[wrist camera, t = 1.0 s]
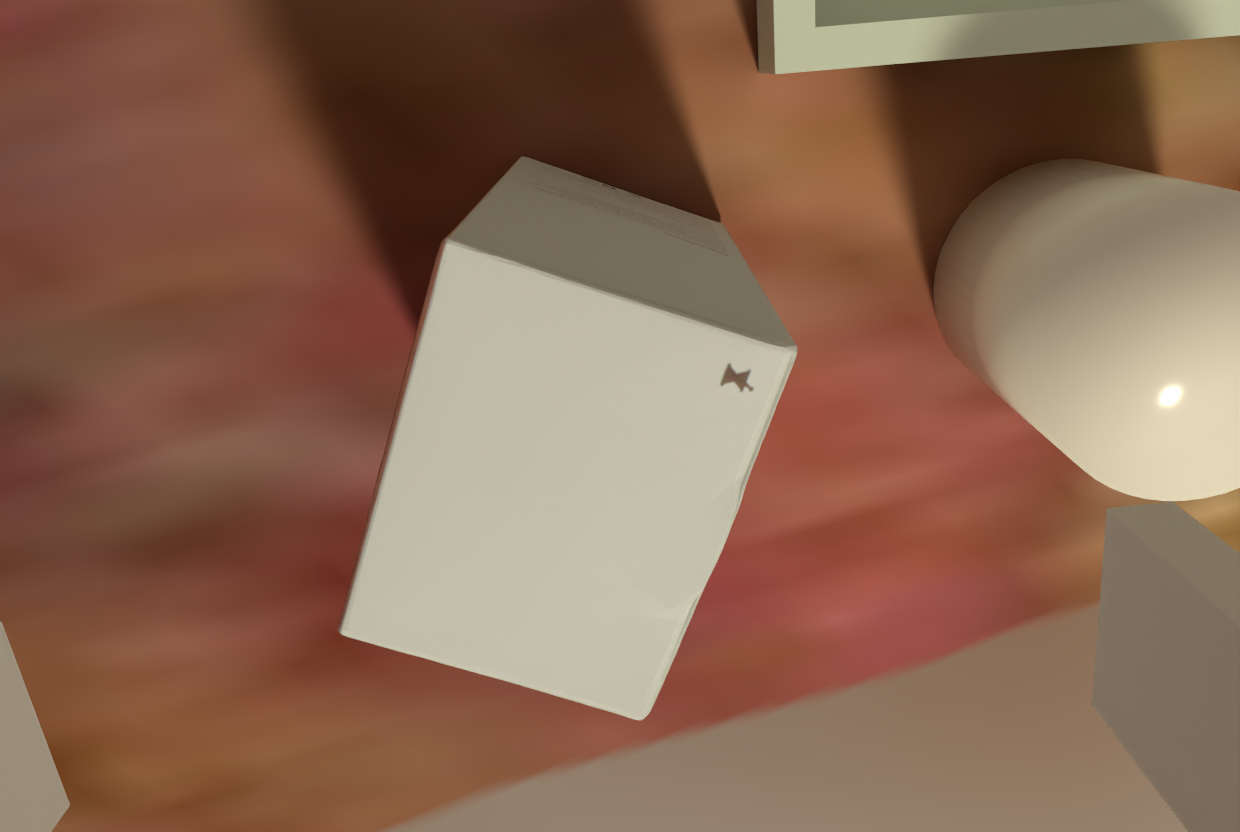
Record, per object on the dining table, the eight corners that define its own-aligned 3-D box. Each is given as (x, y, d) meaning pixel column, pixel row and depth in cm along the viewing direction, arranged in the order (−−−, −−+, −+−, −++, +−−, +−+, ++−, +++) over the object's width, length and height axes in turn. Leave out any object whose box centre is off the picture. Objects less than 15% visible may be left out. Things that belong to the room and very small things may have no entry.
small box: (518, 151, 28) (441, 224, 15) (728, 221, 28) (813, 345, 16) (445, 407, 30) (329, 643, 18) (639, 465, 31) (653, 731, 19)
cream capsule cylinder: (929, 399, 30) (1033, 511, 23) (936, 168, 28) (1054, 208, 20) (1157, 382, 30) (1338, 489, 23) (1184, 148, 28) (1395, 181, 20)
